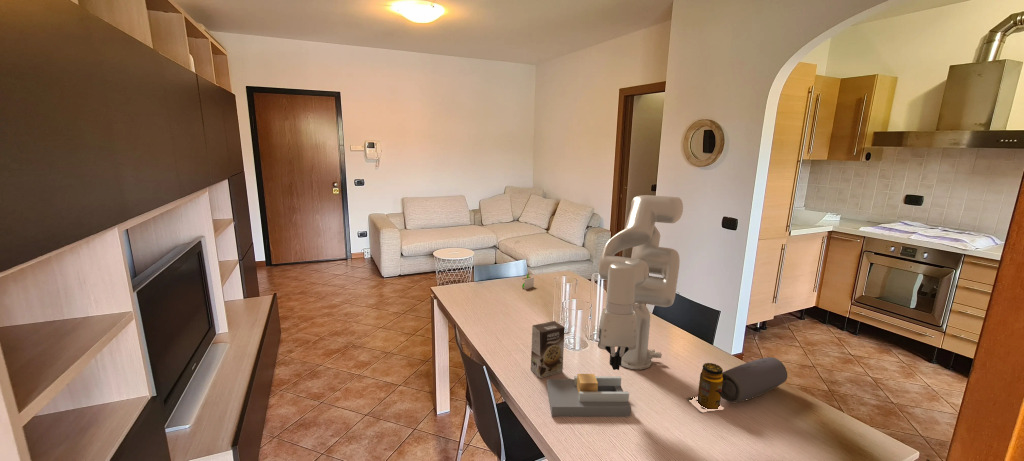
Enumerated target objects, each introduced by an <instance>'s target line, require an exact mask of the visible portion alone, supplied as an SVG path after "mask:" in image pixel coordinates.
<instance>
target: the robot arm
mask: <svg viewBox="0 0 1024 461" xmlns="http://www.w3.org/2000/svg"><path fill="white" fill-rule="evenodd" d="M683 212H684V204H683V200H682V199H681V197H678V196H665V195H652V194H651V195H650V194H645V195H643V194H642V195H641V194H640V195H637V196H634V197H633V199H632V200H631V203H630V210H629V214H628V216H627V219H626V220H627V221H626V224H625V228H624V229H622V230H621V231H619V232H617V233H616V234H615V235H613V236H611V238H609V240H608V241H607V242H606V243H605V245H604V247H603V249H602V251H601V255H600V257H599V261H598V267H597V270H598V272H597V273H598V275H599V277H600V278H601V279H603V280H604V281H605V280H606V281H607V287H606V299H605V300H606V303H605V308H603V309H602V310H601V315H600V319H599V322H598V323H599V324H598V332H597V339H598V343H597V347H598V349H599V350H603V351H604V350H605V351H607V353H608V354H609V366H611V367H612V369H613V371H615V370H617V371H620V367H623V368H627V369H630V370H637V371H638V370H645V369H648V368H649V367H650V366H651V365H652V359H661V358H662V352H661V351H660V352H659V351H656V350H655V349H649V340H650V339H649V338H650V337H649V336H650V327H651V313H650V311H649V308H648V307H647V305H651V306H656V307H663V308H668V307H669V308H670V307H671V306H672V305H673V304H674V302H675V299H676V294H677V287H678V286H677V285H678V278H679V273H680V272H679V271H680V263H681V262H680V261H681V260H680V254H679V252H678V251H677V250H676V249H674V248H672V247H663V246H660V241H661V234H660V230H659V229H658V227H657V226H656V225H655V224H656V223H662V224H663V223H664V224H675V223H677V222H678V221H680V219H681V217H682V215H683ZM631 248H632V250H631V257H624V256H618V255H617V254H618V253H619V252H621V251H624V250H627V249H631ZM649 274H650V275H649ZM651 274H652V275H651ZM653 275H658V276H653ZM616 348H617V349H616Z"/></svg>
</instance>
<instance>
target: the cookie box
mask: <svg viewBox="0 0 1024 461" xmlns="http://www.w3.org/2000/svg"><path fill="white" fill-rule="evenodd" d="M565 328H566V327H565V326H563V325H562V324H561V323H558V322H557V321H555V320H553V321H549V322H542V323H538V324H533V325H532V328H531V329H532V330H531V331H532V332H531V349H530V350H531V354H530V358H531V359H530V371H531V372H532V373H533V374H535V376H537V377H538V378H539V379H542V378H545V377H550V376H553V375H556V374H561V373H563V371H564V368H563V367H564V352H565V351H564V349H565V330H566V329H565Z"/></svg>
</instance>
